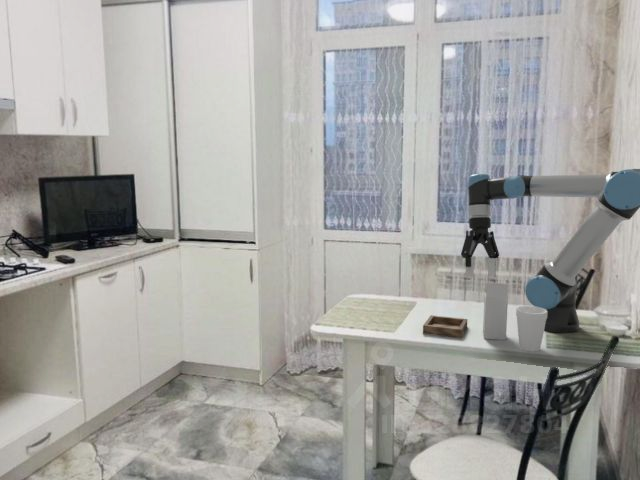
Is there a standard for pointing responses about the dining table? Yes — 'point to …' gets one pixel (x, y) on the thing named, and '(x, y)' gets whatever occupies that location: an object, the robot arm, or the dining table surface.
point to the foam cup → (531, 327)
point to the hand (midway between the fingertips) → (481, 276)
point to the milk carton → (495, 311)
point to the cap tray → (445, 326)
